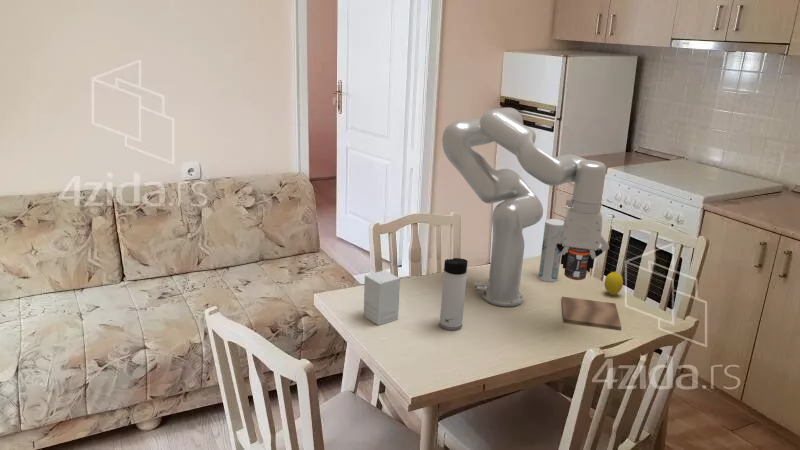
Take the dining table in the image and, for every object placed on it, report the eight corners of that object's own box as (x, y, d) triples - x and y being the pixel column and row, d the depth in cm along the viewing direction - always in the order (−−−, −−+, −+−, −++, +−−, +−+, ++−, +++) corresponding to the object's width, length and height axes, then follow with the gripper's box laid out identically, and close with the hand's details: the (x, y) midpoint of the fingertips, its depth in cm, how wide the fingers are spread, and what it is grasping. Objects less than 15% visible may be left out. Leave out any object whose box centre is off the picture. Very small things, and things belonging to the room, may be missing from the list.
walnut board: (563, 322, 184) (563, 319, 184) (561, 299, 199) (561, 296, 199) (620, 330, 181) (621, 326, 181) (614, 306, 196) (615, 303, 196)
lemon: (621, 299, 202) (625, 275, 199) (603, 297, 203) (607, 273, 200) (619, 292, 207) (623, 269, 204) (602, 290, 208) (605, 267, 205)
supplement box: (398, 319, 181) (401, 278, 177) (377, 326, 176) (379, 283, 172) (383, 309, 186) (385, 269, 182) (362, 315, 182) (363, 274, 178)
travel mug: (447, 333, 174) (453, 265, 168) (435, 322, 180) (440, 256, 174) (466, 328, 177) (473, 261, 171) (454, 318, 183) (459, 253, 176)
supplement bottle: (581, 282, 174) (587, 244, 171) (560, 277, 178) (565, 238, 174) (588, 276, 179) (594, 238, 175) (568, 270, 182) (573, 233, 179)
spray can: (540, 273, 219) (547, 217, 212) (559, 277, 216) (567, 220, 210) (536, 279, 213) (543, 222, 207) (555, 283, 211) (563, 226, 204)
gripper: (552, 206, 170) (543, 268, 176) (619, 214, 166) (608, 278, 172) (553, 199, 177) (545, 259, 183) (618, 206, 173) (607, 268, 179)
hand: (576, 268), depth 178 cm, fingers closed on supplement bottle, 6 cm apart
